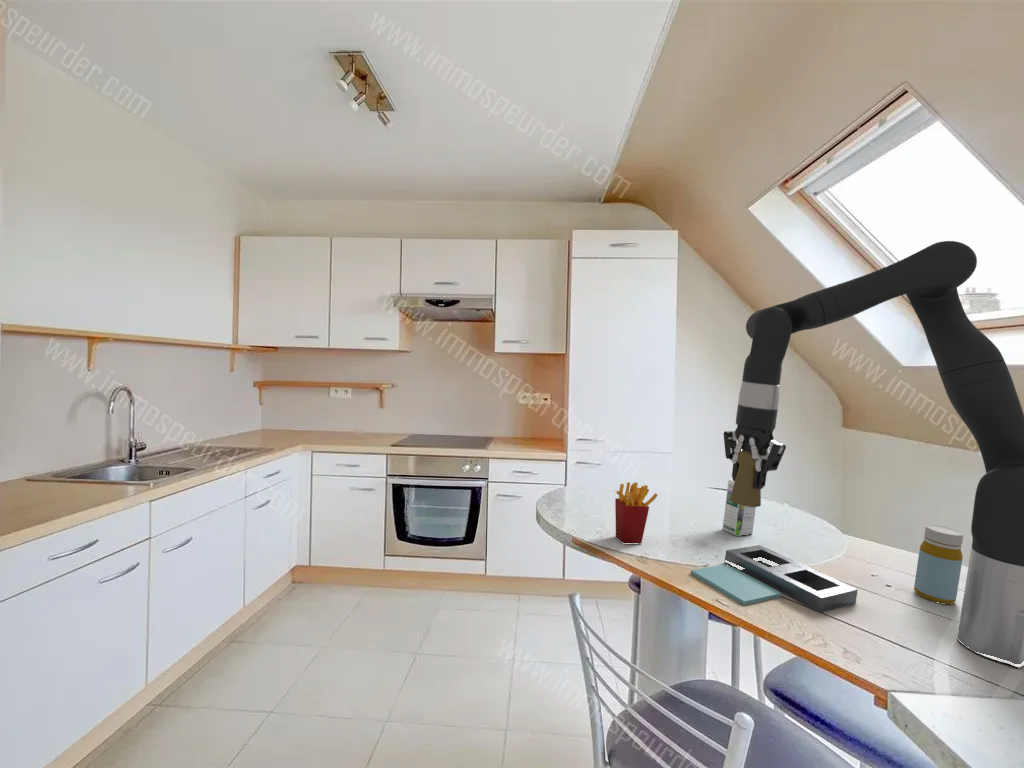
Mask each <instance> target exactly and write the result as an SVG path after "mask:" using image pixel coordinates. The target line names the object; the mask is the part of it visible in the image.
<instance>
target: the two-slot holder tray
mask: <svg viewBox="0 0 1024 768" xmlns="http://www.w3.org/2000/svg"><path fill="white" fill-rule="evenodd" d="M758 557H762V558H765V559H767V560H770V561H773V562H775V563H777V564H779V565H778V566H773V567H771V566H768V565H766V564H764V563H762V562H757V561H755V560H753V558H758ZM725 560H727V561H729V562H732V563H734V564H736V565H739V566H741V567H743V568H745V569H743V570H739V571H741V572H743V573H745V574H747V575H749V576H751V577H752V578H754V579H756V580H758V581H760V582H762V583H764V584H766V585H768V586H770V587H771V588H773V589H775V590H777V591H779V592H781V593H782V595H785V596H787V597H789V598H791V599H793V600H794V601H796V602H798V603H801V604H802V605H804V606H806V607H808V608H810V609H812V610H813V611H816V612H817V613H819V614H821V613H824V612H828V611H832V610H835V609H836V610H837V609H839V608H844V607H848V606H850V605H855V604H857V598H858V589H857V588H855V587H853V586H850V585H848V584H846V583H845V582H843V581H841V580H838V579H835V578H834V577H831V576H829V575H827V574H825V573H822V572H821V571H817V570H816V569H813V568H811V567H809V566H807V565H805V564H803V563H800V562H799V561H797V560H794V559H791V558H789V557H787V556H785V555H782V554H780V553H778V552H776V551H774V550H771V549H769V548H768V547H765V546H763V545H761V544H758V545H752V546H746V547H745V546H744V547H740V548H739V547H738V548H733V549H727V550H725V555H724V561H725ZM813 588H815V589H813Z"/></svg>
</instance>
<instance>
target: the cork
mask: <svg viewBox="0 0 1024 768" xmlns="http://www.w3.org/2000/svg"><path fill="white" fill-rule="evenodd" d="M759 455H760V456H763V455H762V454H759ZM737 459H738V463H739V468H738V472H737V475H736V479H735V482H734V486H733V489H732V493H731V496H730V500H731V501H732V502H734V503H737V504H740V505H743V506H749V507H756V508H759V507H761V505H762V498H761V497H762V495H761V494H762V489H755V488H753V482H754V474H755V471H757V470H756V466H755V464H756V460H754V459H753V457H752V453H751V452H748V451H741V452H740V453H739V454H738V458H737ZM761 462H762V465H763V462H764V460H763V459H762V460H761Z"/></svg>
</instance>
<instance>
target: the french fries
mask: <svg viewBox="0 0 1024 768" xmlns="http://www.w3.org/2000/svg"><path fill="white" fill-rule="evenodd" d="M625 486H626V488H625V491H624V487H625ZM648 487H649V486H648V485H646V484H645V485H641V487H638V482H633V483H631V482H629V481H627V482H626V485H624V483H620V484H619V490H617V491H616V492H615V493H616V494H617V495H618V498H615V500H614V502H615V505H614V506H615V507H614V508H615V511H614V512H615V537H616V538H617V539H618V540H619V542H620V543H622V542H623V543H641V544H642V542H643V537H644V533H645V529H646V524H647V520H648V514H649V510H650V506H649V505H650V504H651V503H653V502H654V501H655V500H656V499H657V497H658V496H659V494H657V493H654V494H653V495H652V496H651V497H650V498H649V499H648V500H647V501H646V502H644V500H645V498H646V497H647V495H648V493H649V491H650V489H649V488H648ZM624 492H625V493H624ZM623 543H622V544H623Z"/></svg>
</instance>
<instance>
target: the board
mask: <svg viewBox="0 0 1024 768" xmlns="http://www.w3.org/2000/svg"><path fill="white" fill-rule="evenodd" d="M727 565H728V564H726V563H723V564H719V565H712V566H708V567H701V568H695V569H691V570H690V574H691V575H692V576H694V577H696V578H697V579H699V580H701V581H702V582H704V583H706V584H707V585H709V586H711V587H713V588H714V589H716V590H718V591H719V592H721V593H723V594H725V596H728V597H729V598H731V599H733V600H735V601H736V602H738V603H740V604H741V605H743V606H747V605H751V604H755V603H759V602H765V601H769V600H774V599H777V598H782V595H783V593H781V592H779V591H777V590H776V589H774V588H772V587H770V586H768V585H766V584H764V583H762V582H760V581H758V580H757V579H755V578H753V577H751V576H749V575H747V574H745V573H743V572H741V571H739V570H738V569H736V568H734V567H729V566H727Z"/></svg>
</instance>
